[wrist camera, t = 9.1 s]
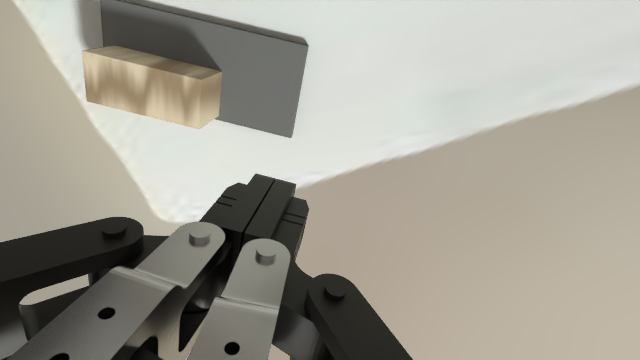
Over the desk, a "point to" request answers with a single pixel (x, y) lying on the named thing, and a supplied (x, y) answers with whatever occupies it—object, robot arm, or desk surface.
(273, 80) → the rubber mat
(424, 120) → the desk surface
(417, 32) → the desk surface
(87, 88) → the birch block
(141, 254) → the robot arm
